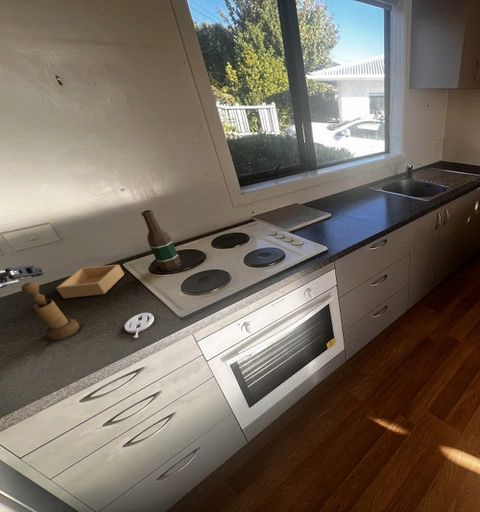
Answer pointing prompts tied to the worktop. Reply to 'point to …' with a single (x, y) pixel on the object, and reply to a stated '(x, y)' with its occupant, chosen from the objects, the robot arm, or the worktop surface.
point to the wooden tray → (90, 281)
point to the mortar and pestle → (51, 314)
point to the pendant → (139, 323)
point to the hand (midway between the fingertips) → (22, 277)
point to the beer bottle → (160, 243)
